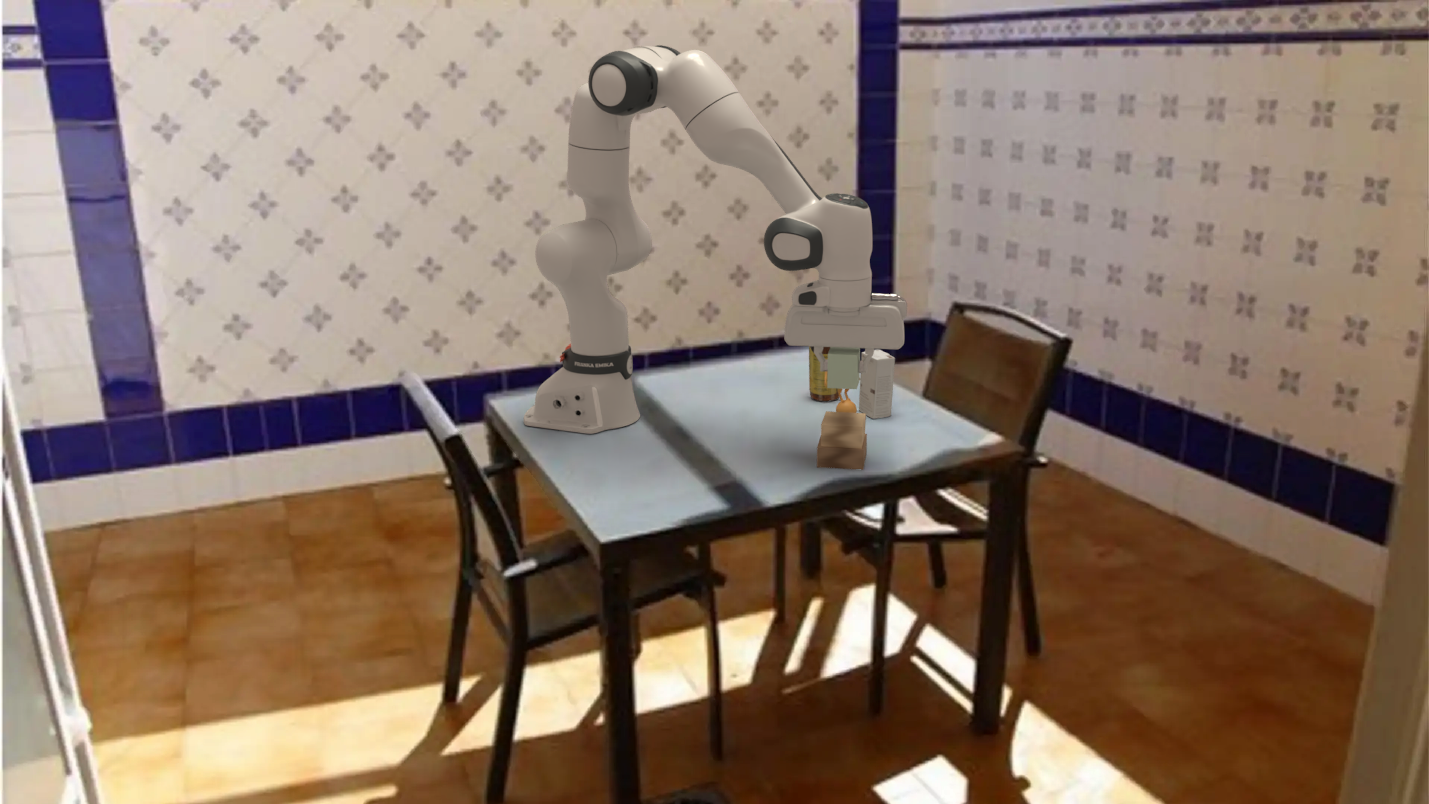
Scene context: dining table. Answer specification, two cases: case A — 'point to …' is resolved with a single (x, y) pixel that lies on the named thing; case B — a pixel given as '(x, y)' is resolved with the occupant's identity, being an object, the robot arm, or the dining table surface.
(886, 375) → the skincare box
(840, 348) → the green block
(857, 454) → the tower base
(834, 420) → the tower top
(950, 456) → the dining table surface
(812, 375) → the sauce bottle
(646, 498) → the dining table surface
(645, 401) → the dining table surface
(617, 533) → the dining table surface
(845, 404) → the figurine
